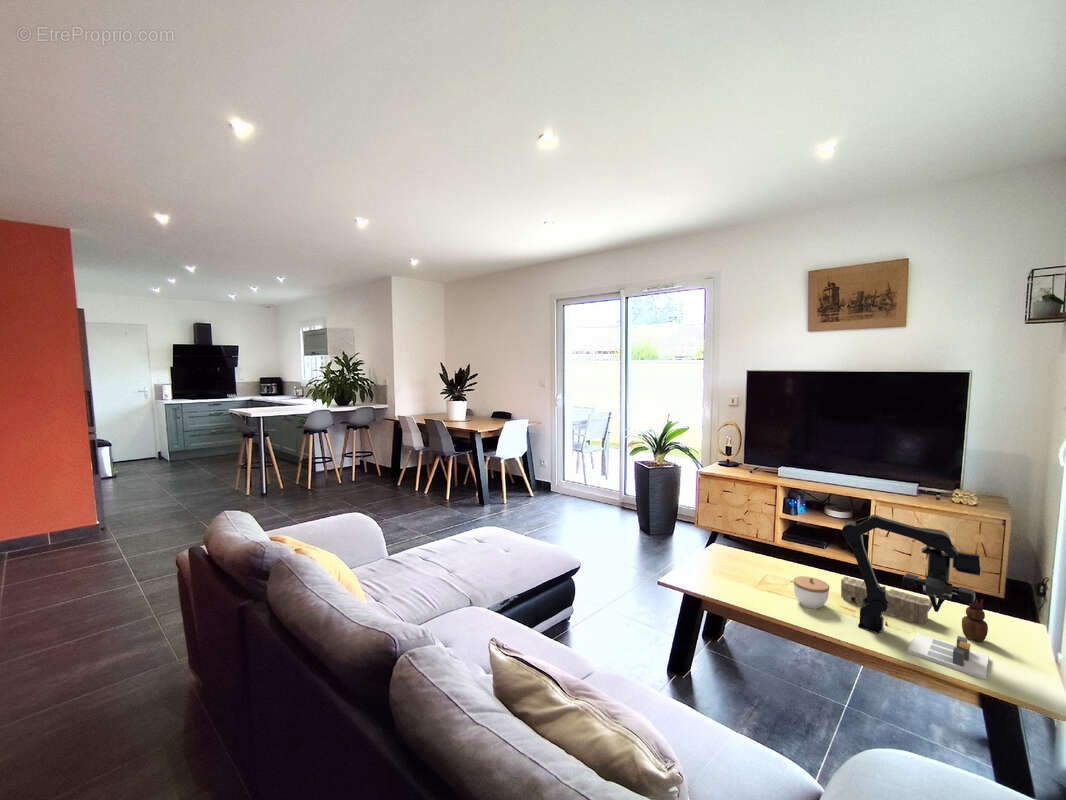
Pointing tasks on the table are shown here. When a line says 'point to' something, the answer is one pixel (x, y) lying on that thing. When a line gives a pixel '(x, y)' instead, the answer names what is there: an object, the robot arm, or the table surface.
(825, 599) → the lidded bowl
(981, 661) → the panel
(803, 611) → the table surface
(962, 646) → the block
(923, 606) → the block tower
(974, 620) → the wooden figurine
